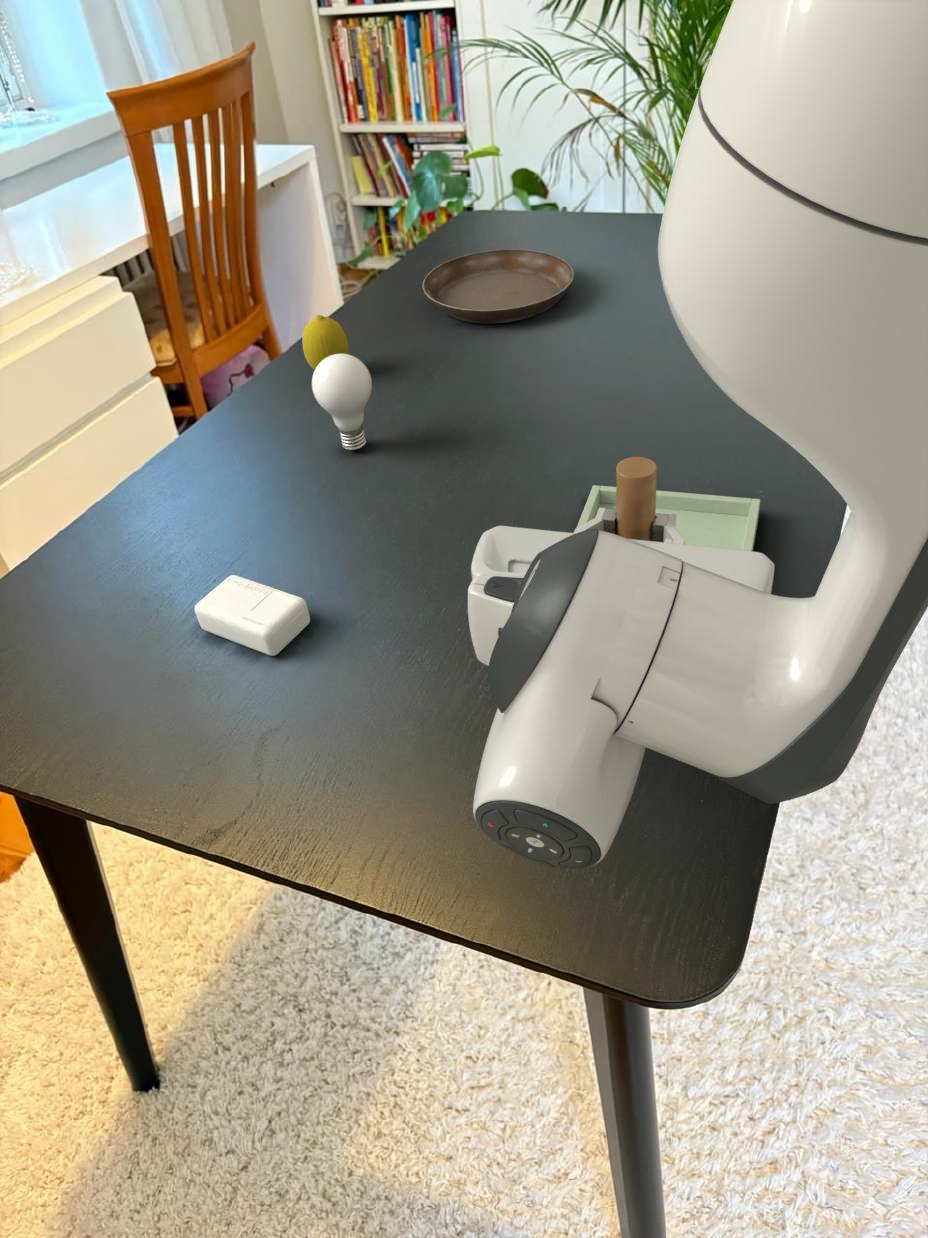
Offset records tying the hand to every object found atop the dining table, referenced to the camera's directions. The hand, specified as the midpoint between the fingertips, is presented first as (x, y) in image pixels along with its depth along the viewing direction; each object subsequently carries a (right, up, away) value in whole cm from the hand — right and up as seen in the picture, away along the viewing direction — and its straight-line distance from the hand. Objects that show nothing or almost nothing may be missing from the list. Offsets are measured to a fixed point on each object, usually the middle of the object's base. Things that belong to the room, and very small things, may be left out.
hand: (637, 518), depth 72 cm
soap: (-31, -8, +15) cm, 35 cm away
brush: (+1, -6, +4) cm, 8 cm away
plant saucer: (-8, +37, +63) cm, 73 cm away
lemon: (-29, +23, +51) cm, 63 cm away
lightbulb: (-25, +11, +36) cm, 46 cm away
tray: (+4, -5, +13) cm, 14 cm away
